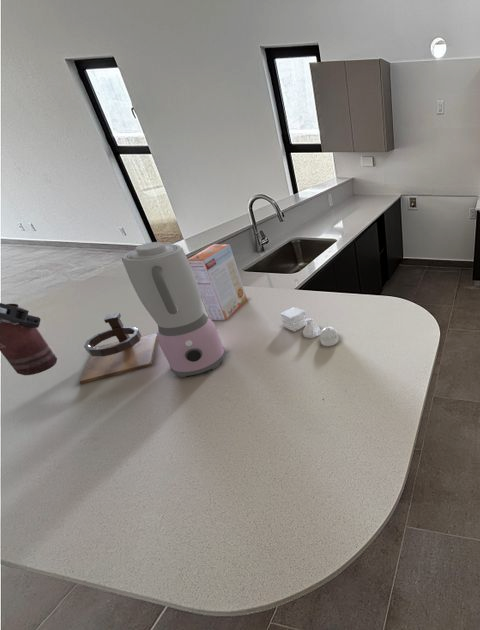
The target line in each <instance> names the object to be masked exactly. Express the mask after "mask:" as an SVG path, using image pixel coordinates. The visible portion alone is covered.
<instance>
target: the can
mask: <svg viewBox="0 0 480 630" xmlns="http://www.w3.org/2000/svg"><path fill="white" fill-rule="evenodd" d="M5 304H6V305H10V306H13V307H17V308H21V309H24V307H23V306H20V305H19V304H17V303H5ZM0 353H1V354H2V355H3V357H4V359H6V361H7V362H8V363H9V364H10V366H11V367H12V368H13V370H14V371H15V372H16V373H17V374H18V375H22V376H33V375H37V374H40V373H44V372H45V371H47V370H49V369H52V368H53V367H54V366H55V365H56V364H57V362H58V357H57V355H56V354H55V353H54V351H53V349H52V348H51V347H50V345H49V344H48V342H47V341H46V339H45V338H44V337H43V335H42V333H41V332H40V331H39V329H38V328H30V327H25V326H20V325H12V324H6V323H0Z"/></svg>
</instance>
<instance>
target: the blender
mask: <svg viewBox="0 0 480 630" xmlns="http://www.w3.org/2000/svg"><path fill="white" fill-rule="evenodd" d="M188 259H189V258H188V257H187V255H186V252H185V250H184V248H183V247H182V246H180V245H179V244H175V243H165V242H163V241H152V242H146V243H142V244H139V245H137V246H136V247H135V249H133V250H130V251H128V252H125V254H123V255H122V257H121V262H122V264H123V266H124V269H125V271H126V273H127V276H128V279H129V281H130V283H131V285H132V287H133V289H134V291H135V293H136V296H137V297H138V299H139V301H140V302H141V304H142V305H143V306H144V308H145V310H146V311H147V312H148V314H149V315H150V317H151V318H152V320H154V322H155V323H156V325H157V330H158V331H157V334H158V338H157V343H158V345H159V347H160V349H161V351H162V353H163V355H164V357H165V359H166V361H167V362H168V363H167V364H168V365H169V367H170V369H171V371H172V373H173V374H174V375H177V377H179V378H187V377H189V376H194V375H199V374H202V373H203V374H204V373H205V372H208V371H210V370H212V371H213V370H215V369H217V368H219V367H220V366H221V363H222V362H223V361H224V359H225V357H226V355H227V353H226V350H225V348H224V346H223V342H222V340H221V336H220V334H219V332H218V329H217V327H216V325H215V323H214V321H213V320H211V319H210V318H209V316H208V315H206V314H205V312H204V308H203V302H202V299H201V296H200V291H199V287H198V284H197V281H196V279H195V276H194V273H193V270H192V268H191V265H190V263H189V261H188Z"/></svg>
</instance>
